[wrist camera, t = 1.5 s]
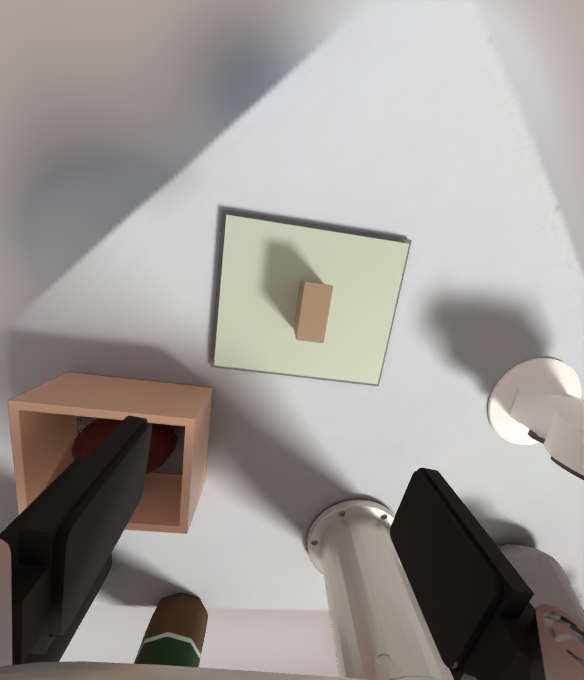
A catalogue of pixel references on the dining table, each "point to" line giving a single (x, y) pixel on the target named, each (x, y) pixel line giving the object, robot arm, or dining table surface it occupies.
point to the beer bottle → (175, 633)
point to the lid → (306, 300)
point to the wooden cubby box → (116, 403)
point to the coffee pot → (544, 579)
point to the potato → (101, 428)
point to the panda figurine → (542, 410)
